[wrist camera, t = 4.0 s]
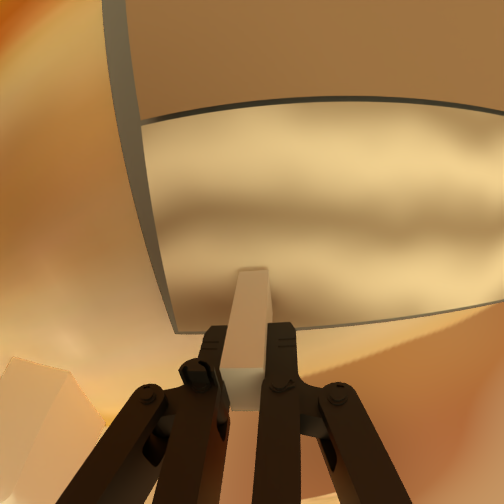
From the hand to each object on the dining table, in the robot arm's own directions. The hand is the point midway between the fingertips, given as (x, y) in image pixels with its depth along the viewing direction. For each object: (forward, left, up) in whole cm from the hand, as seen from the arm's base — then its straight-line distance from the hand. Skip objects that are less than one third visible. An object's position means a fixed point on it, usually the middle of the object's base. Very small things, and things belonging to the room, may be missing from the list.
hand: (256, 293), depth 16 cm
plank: (-3, +10, -3) cm, 11 cm away
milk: (+21, -31, -5) cm, 37 cm away
